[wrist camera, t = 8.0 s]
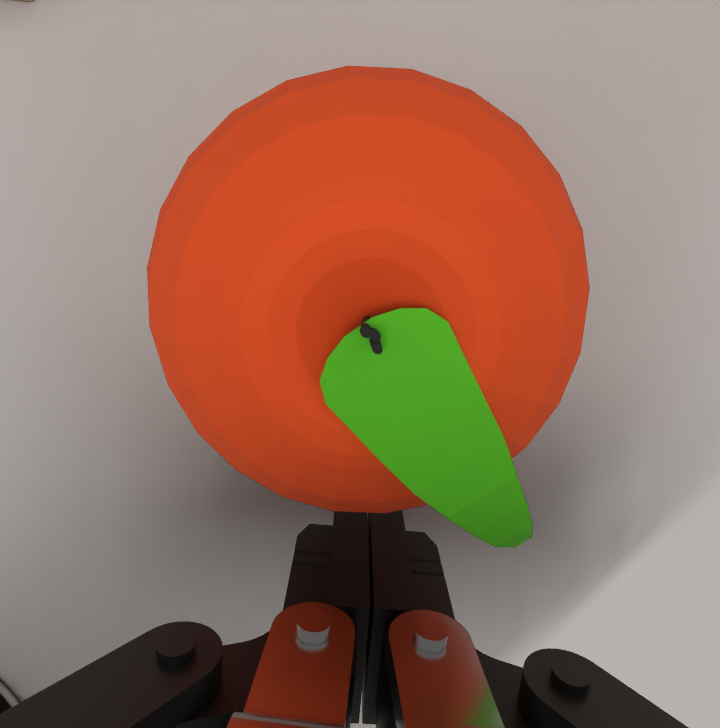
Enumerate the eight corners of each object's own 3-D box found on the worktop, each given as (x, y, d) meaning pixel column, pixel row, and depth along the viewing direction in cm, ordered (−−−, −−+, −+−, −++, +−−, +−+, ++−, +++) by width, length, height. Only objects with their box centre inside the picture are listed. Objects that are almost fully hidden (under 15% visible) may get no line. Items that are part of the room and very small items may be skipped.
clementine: (597, 354, 13) (856, 494, 6) (354, 509, 14) (349, 777, 7) (407, 44, 12) (476, -215, 5) (147, 240, 13) (-106, 260, 6)
